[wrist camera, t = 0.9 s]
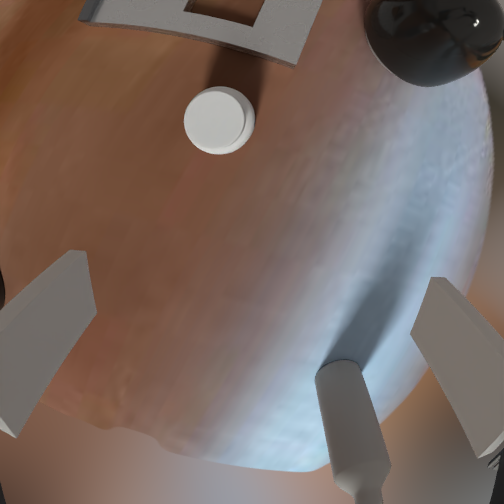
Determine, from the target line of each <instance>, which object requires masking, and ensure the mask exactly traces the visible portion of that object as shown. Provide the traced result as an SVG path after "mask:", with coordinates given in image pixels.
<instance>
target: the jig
mask: <svg viewBox="0 0 504 504" xmlns="http://www.w3.org/2000/svg"><path fill="white" fill-rule="evenodd" d="M195 1H196V0H86V2H85V4H84V7H83V9H82V11H81V13H80V15H79V18H78V20H79V21H81V22H83V23H85V24H87V25H89V26H96V27H111V28H122V29H132V30H140V31H148V32H155V33H161V34H167V35H173V36H178V37H183V38H188V39H193V40H197V41H202V42H206V43H210V44H215V45H219V46H222V47H226V48H230V49H234V50H237V51H241V52H244V53H247V54H251V55H254V56H257V57H260V58H263V59H266V60H269V61H272V62H275V63H278V64H281V65H284V66H286V67H289V68H292V69H294V67H295V66H296V64H297V61H298V59H299V56H300V54H301V51H302V49H303V46H304V44H305V41H306V39H307V37H308V34H309V32H310V29H311V27H312V24H313V22H314V20H315V17H316V15H317V12H318V10H319V8H320V5H321V3H322V0H265V2H264V4H263V6H262V8H261V10H260V12H259V15H258V17H257V19H256V21H255V24H254V26H253V27H250V26H247V25H243V24H240V23H236V22H232V21H228V20H224V19H219V18H215V17H210V16H206V15H201V14H195V13H190V12H191V9H192V7H193V5H194V3H195Z"/></svg>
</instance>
